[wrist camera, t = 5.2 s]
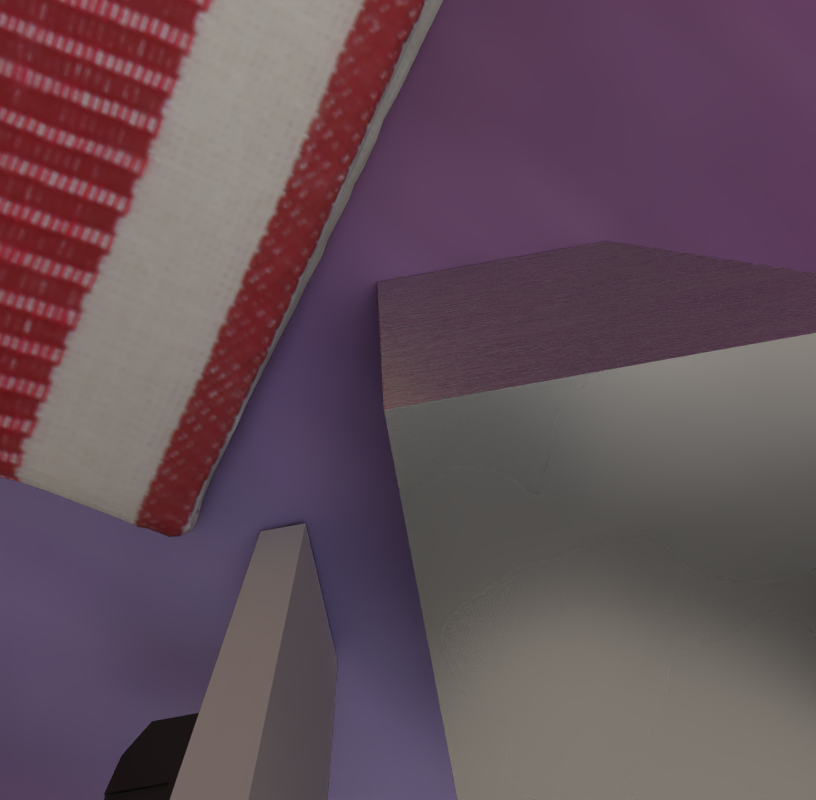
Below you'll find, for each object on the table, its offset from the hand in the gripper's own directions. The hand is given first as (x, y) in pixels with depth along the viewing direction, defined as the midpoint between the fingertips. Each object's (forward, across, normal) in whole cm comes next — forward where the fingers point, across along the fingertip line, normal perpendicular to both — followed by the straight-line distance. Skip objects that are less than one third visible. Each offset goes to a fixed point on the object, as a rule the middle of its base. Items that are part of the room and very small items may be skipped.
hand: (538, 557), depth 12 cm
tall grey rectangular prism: (0, 0, 0) cm, 0 cm away
